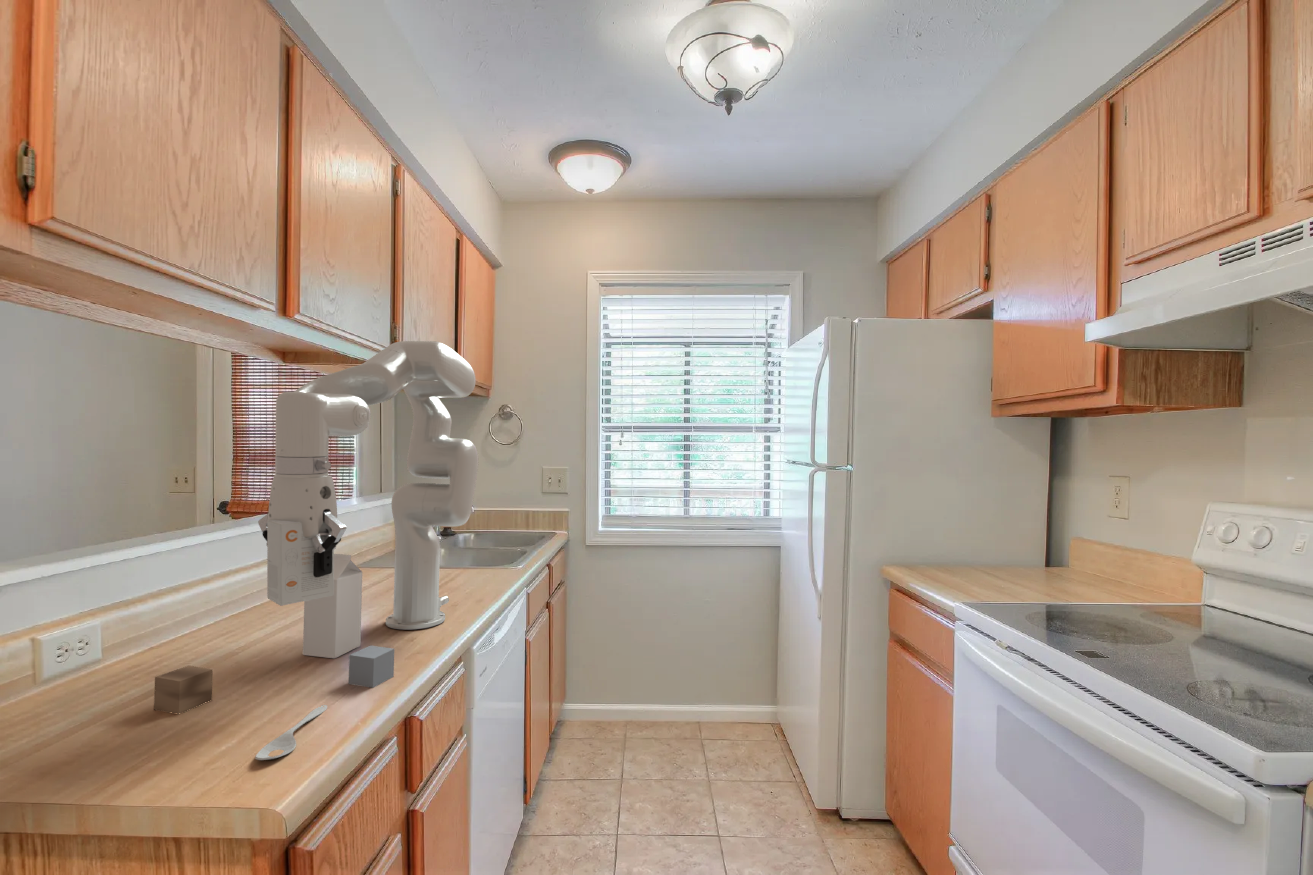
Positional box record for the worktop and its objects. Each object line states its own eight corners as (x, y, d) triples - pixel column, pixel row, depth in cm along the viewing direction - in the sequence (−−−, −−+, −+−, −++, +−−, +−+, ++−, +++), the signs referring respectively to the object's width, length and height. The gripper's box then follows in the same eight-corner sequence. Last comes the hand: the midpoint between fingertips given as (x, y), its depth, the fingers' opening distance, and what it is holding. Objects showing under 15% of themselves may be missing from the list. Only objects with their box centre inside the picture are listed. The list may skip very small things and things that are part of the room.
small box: (319, 589, 103) (320, 514, 103) (334, 596, 99) (335, 518, 99) (265, 598, 97) (266, 519, 97) (279, 606, 93) (280, 523, 93)
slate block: (369, 673, 106) (370, 645, 106) (393, 677, 105) (394, 648, 105) (348, 684, 101) (349, 654, 101) (373, 688, 100) (373, 658, 100)
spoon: (244, 771, 75) (244, 758, 75) (318, 700, 96) (318, 690, 96) (278, 770, 76) (279, 757, 76) (345, 699, 96) (346, 689, 96)
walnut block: (187, 696, 95) (188, 665, 95) (211, 701, 94) (212, 669, 94) (153, 710, 90) (155, 677, 90) (178, 714, 89) (179, 681, 89)
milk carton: (334, 659, 112) (337, 558, 112) (302, 655, 114) (305, 556, 114) (360, 646, 119) (363, 551, 119) (329, 643, 121) (332, 549, 121)
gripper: (363, 468, 99) (361, 572, 99) (280, 464, 104) (278, 563, 104) (327, 471, 92) (325, 583, 92) (239, 466, 97) (238, 573, 97)
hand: (300, 572), depth 98 cm, fingers closed on small box, 8 cm apart
